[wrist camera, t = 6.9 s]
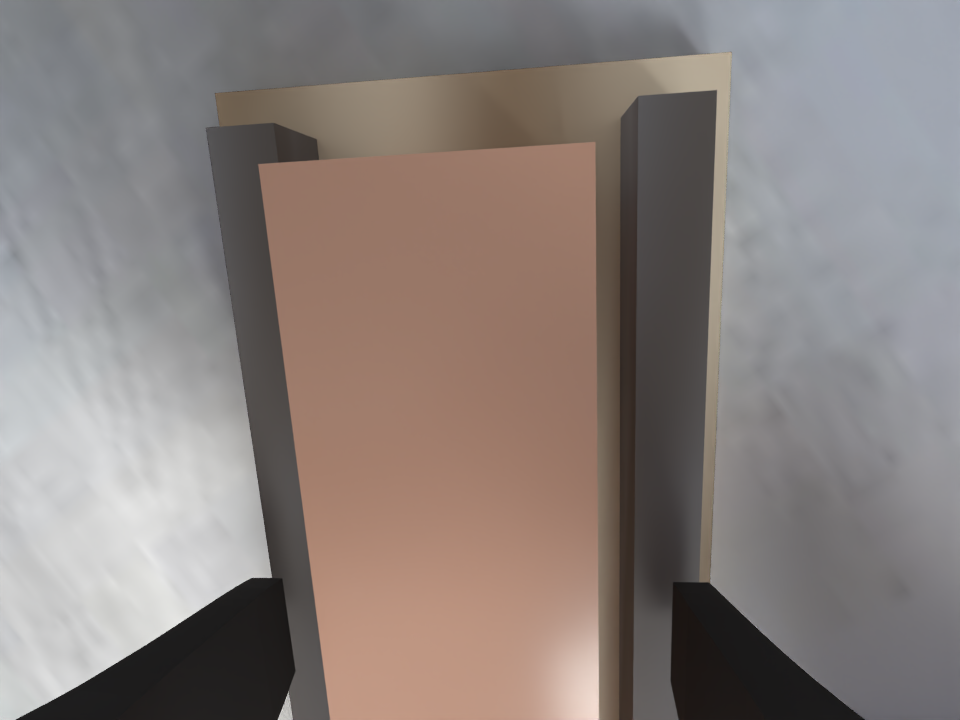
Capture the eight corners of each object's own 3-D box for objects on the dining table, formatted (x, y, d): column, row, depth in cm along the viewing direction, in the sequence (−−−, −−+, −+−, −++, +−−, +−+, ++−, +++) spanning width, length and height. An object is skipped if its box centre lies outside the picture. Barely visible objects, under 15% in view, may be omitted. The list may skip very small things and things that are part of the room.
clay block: (570, 175, 11) (595, 141, 7) (580, 824, 15) (601, 1109, 10) (371, 187, 12) (258, 164, 7) (427, 816, 15) (378, 1087, 11)
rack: (713, 68, 12) (775, 13, 9) (685, 843, 16) (720, 988, 13) (244, 104, 13) (151, 67, 10) (339, 825, 17) (296, 955, 14)
